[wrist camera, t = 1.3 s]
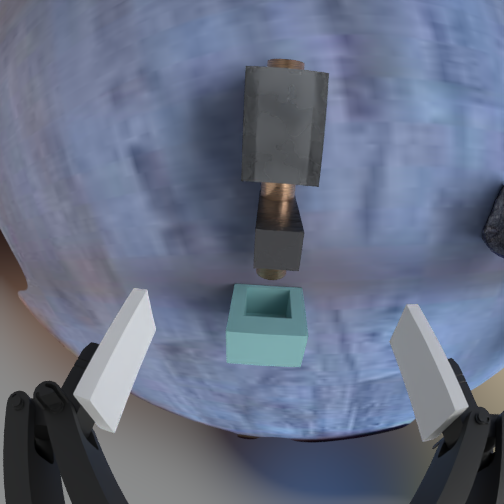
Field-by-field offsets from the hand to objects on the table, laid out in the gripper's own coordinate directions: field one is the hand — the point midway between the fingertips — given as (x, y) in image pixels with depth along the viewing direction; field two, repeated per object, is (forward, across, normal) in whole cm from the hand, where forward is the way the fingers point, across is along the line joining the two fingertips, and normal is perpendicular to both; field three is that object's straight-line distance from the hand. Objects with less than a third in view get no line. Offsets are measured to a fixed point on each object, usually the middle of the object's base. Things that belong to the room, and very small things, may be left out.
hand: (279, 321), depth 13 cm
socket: (+17, 0, -13) cm, 21 cm away
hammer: (+16, 0, +4) cm, 16 cm away
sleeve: (+17, 0, +8) cm, 19 cm away
